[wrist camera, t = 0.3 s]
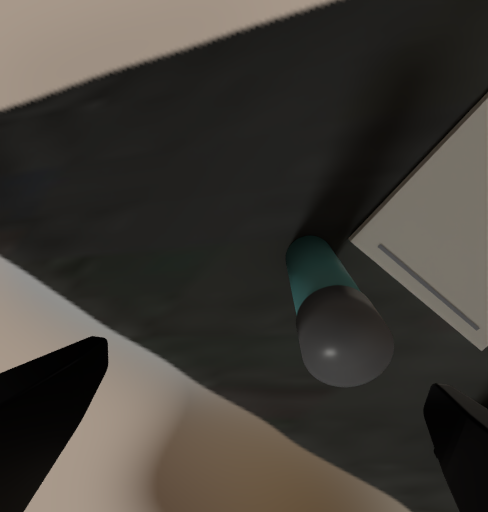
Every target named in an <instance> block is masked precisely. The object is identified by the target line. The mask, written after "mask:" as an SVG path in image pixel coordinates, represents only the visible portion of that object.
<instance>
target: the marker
mask: <svg viewBox="0 0 488 512" xmlns="http://www.w3.org/2000/svg"><path fill="white" fill-rule="evenodd" d="M286 265H287V270H288V275H289V280H290V285H291V290H292V295H293V300H294V305H295V310H296V315H297V316H296V327H297V332H298V338H299V343H300V349H301V354H302V359H303V362H304V364H305V366H306V368H307V369H308V371H309V372H310V373H311V374H312V375H313V376H314V377H315V378H317V379H318V380H320V381H321V382H324V383H326V384H329V385H332V386H337V387H353V386H358V385H362V384H365V383H367V382H369V381H371V380H373V379H375V378H376V377H377V376H379V375H380V374H381V373H382V372H383V371H384V370H385V369H386V368H387V366H388V365H389V363H390V361H391V359H392V356H393V353H394V339H393V335H392V333H391V331H390V329H389V327H388V326H387V324H386V323H385V322H384V320H383V319H382V317H381V316H380V314H379V313H378V312H377V310H376V309H375V307H374V306H373V304H372V303H371V302H370V300H369V299H368V298H367V297H366V296H365V295H364V294H363V293H362V292H361V291H360V290H359V288H358V287H357V286H356V284H355V283H354V281H353V280H352V278H351V277H350V275H349V274H348V272H347V271H346V269H345V268H344V266H343V265H342V263H341V262H340V261H339V259H338V258H337V256H336V255H335V253H334V252H333V250H332V249H331V247H330V246H329V244H328V243H327V242H326V241H325V240H323V239H322V238H320V237H317V236H304V237H301V238H298V239H297V240H295V241H294V242H293V243H292V244H291V245H290V246H289V248H288V250H287V253H286Z"/></svg>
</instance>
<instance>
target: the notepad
mask: <svg viewBox="0 0 488 512" xmlns="http://www.w3.org/2000/svg"><path fill="white" fill-rule="evenodd" d="M348 239H349V240H350V241H351V242H352V243H353V244H354V245H355V246H357V247H358V248H359V249H360V250H361V251H363V252H364V253H365V254H366V255H367V256H369V257H370V258H371V259H372V260H373V261H375V262H376V263H377V264H378V265H379V266H381V267H382V268H383V269H384V270H385V271H386V272H388V273H389V274H390V275H391V276H392V277H394V278H395V279H396V280H397V281H398V282H400V283H401V284H402V285H403V286H404V287H406V288H407V289H408V290H409V291H410V292H412V293H413V294H414V295H415V296H416V297H418V298H419V299H420V300H421V301H422V302H424V303H425V304H426V305H427V306H428V307H430V308H431V309H432V310H433V311H434V312H436V313H437V314H438V315H439V316H440V317H442V318H443V319H444V320H445V321H446V322H448V323H449V324H450V325H451V326H452V327H453V328H455V329H456V330H457V331H458V332H459V333H461V334H462V335H463V336H464V337H465V338H467V339H468V340H469V341H470V342H471V343H473V344H474V345H475V346H476V347H477V348H479V349H480V350H481V351H482V350H483V349H485V348H486V347H487V346H488V92H487V93H486V94H485V95H484V96H483V98H482V99H481V100H480V101H479V102H478V103H477V104H476V105H475V106H474V107H473V108H472V109H471V110H470V111H469V112H468V113H467V114H466V115H465V116H464V117H463V118H462V120H461V121H460V122H459V123H458V124H457V125H456V126H455V127H454V128H453V129H452V130H451V131H450V132H449V133H448V134H447V135H446V136H445V137H444V138H443V139H442V141H441V142H440V143H439V144H438V145H437V146H436V147H435V148H434V149H433V150H432V151H431V152H430V153H429V154H428V155H427V156H426V157H425V158H424V159H423V160H422V162H421V163H420V164H419V165H418V166H417V167H416V168H415V169H414V170H413V171H412V172H411V173H410V174H409V175H408V176H407V177H406V178H405V179H404V180H403V181H402V182H401V184H400V185H399V186H398V187H397V188H396V189H395V190H394V191H393V192H392V193H391V194H390V195H389V196H388V197H387V198H386V199H385V200H384V201H383V202H382V203H381V205H380V206H379V207H378V208H377V209H376V210H375V211H374V212H373V213H372V214H371V215H370V216H369V217H368V218H367V219H366V220H365V221H364V222H363V223H362V224H361V226H360V227H359V228H358V229H357V230H356V231H355V232H354V233H353V234H352V235H351V236H350V237H349V238H348Z"/></svg>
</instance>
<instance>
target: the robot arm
mask: <svg viewBox="0 0 488 512" xmlns="http://www.w3.org/2000/svg"><path fill="white" fill-rule="evenodd" d="M107 367H108V343H107V340H106V339H105V338H102V337H95V336H91V337H88V338H86V339H84V340H81V341H79V342H76V343H74V344H71V345H69V346H66V347H64V348H61V349H59V350H56V351H54V352H51V353H49V354H47V355H44V356H42V357H39V358H37V359H34V360H32V361H29V362H27V363H25V364H22V365H19V366H17V367H14V368H12V369H10V370H7V371H5V372H2V373H0V512H24V510H25V509H26V507H27V505H28V504H29V502H30V501H31V499H32V498H33V496H34V494H35V493H36V491H37V490H38V488H39V487H40V485H41V484H42V482H43V480H44V479H45V477H46V476H47V474H48V473H49V471H50V469H51V468H52V466H53V465H54V463H55V462H56V460H57V458H58V457H59V455H60V454H61V452H62V451H63V449H64V448H65V446H66V444H67V443H68V441H69V440H70V438H71V437H72V435H73V433H74V432H75V430H76V429H77V427H78V425H79V424H80V422H81V420H82V418H83V417H84V415H85V413H86V411H87V409H88V407H89V405H90V403H91V401H92V399H93V397H94V395H95V393H96V391H97V389H98V387H99V385H100V383H101V381H102V379H103V377H104V375H105V373H106V371H107ZM423 412H424V418H425V421H426V424H427V427H428V430H429V433H430V436H431V439H432V442H433V445H434V448H435V449H434V454H435V455H436V457H437V458H438V460H439V463H440V466H441V469H442V471H443V474H444V477H445V479H446V481H447V484H448V486H449V489H450V491H451V493H452V495H453V498H454V500H455V502H456V504H457V507H458V509H459V511H460V512H488V409H487V408H485V407H483V406H482V405H480V404H479V403H477V402H476V401H474V400H473V399H471V398H469V397H468V396H466V395H465V394H463V393H462V392H460V391H458V390H457V389H455V388H454V387H452V386H450V385H445V384H438V383H435V384H433V385H432V386H431V388H430V390H429V393H428V396H427V399H426V402H425V405H424V410H423Z"/></svg>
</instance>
